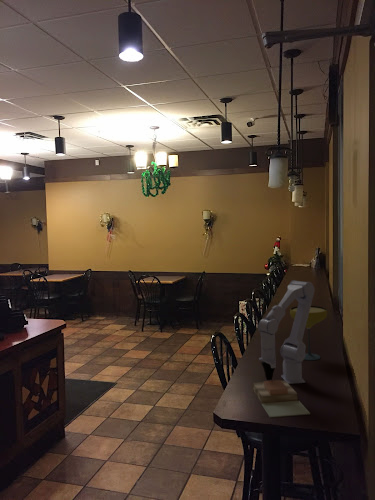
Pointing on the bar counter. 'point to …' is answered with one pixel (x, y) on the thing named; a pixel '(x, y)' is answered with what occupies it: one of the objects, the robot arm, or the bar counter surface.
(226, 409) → the bar counter surface
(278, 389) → the terracotta tile
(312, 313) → the cocktail glass
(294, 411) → the sage mat
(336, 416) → the bar counter surface
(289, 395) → the birch deck
